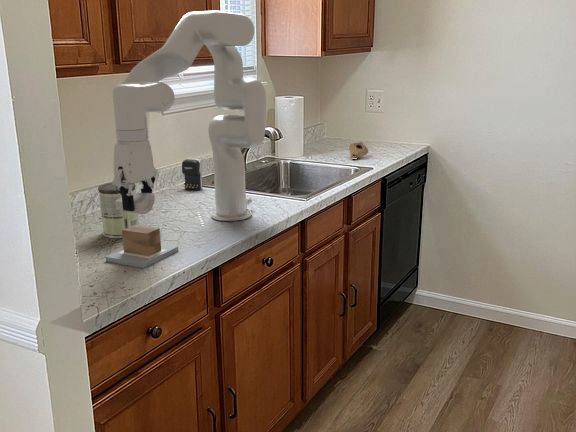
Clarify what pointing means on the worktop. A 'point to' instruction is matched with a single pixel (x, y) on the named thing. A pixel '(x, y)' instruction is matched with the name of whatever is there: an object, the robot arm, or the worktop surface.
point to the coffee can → (114, 212)
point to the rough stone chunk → (139, 203)
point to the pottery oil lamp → (357, 150)
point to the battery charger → (192, 174)
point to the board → (141, 257)
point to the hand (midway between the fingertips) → (138, 206)
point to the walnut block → (141, 240)
